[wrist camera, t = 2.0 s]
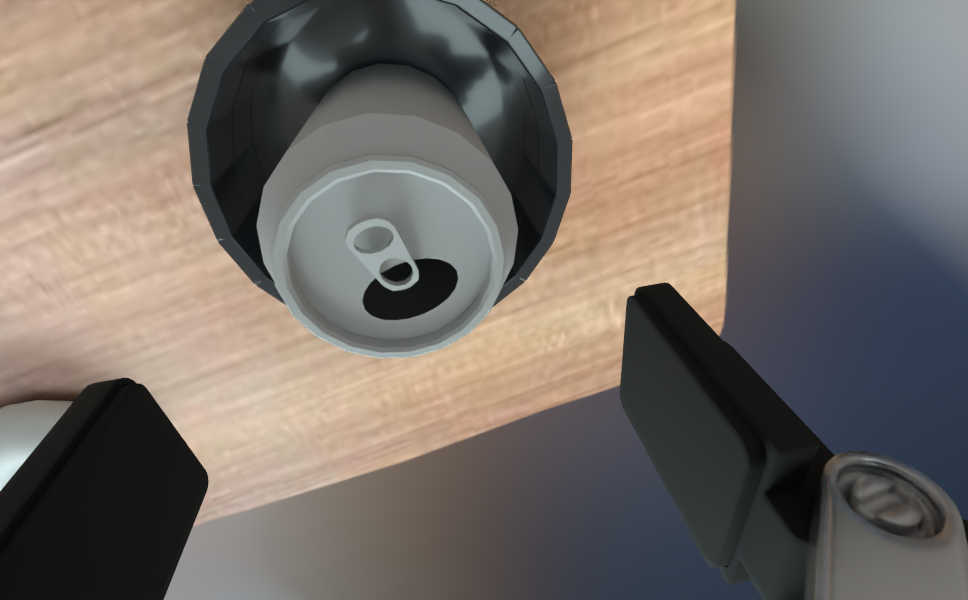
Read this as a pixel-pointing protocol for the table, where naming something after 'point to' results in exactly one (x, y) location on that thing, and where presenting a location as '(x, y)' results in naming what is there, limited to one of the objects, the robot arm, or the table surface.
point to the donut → (25, 431)
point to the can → (388, 217)
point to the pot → (358, 44)
